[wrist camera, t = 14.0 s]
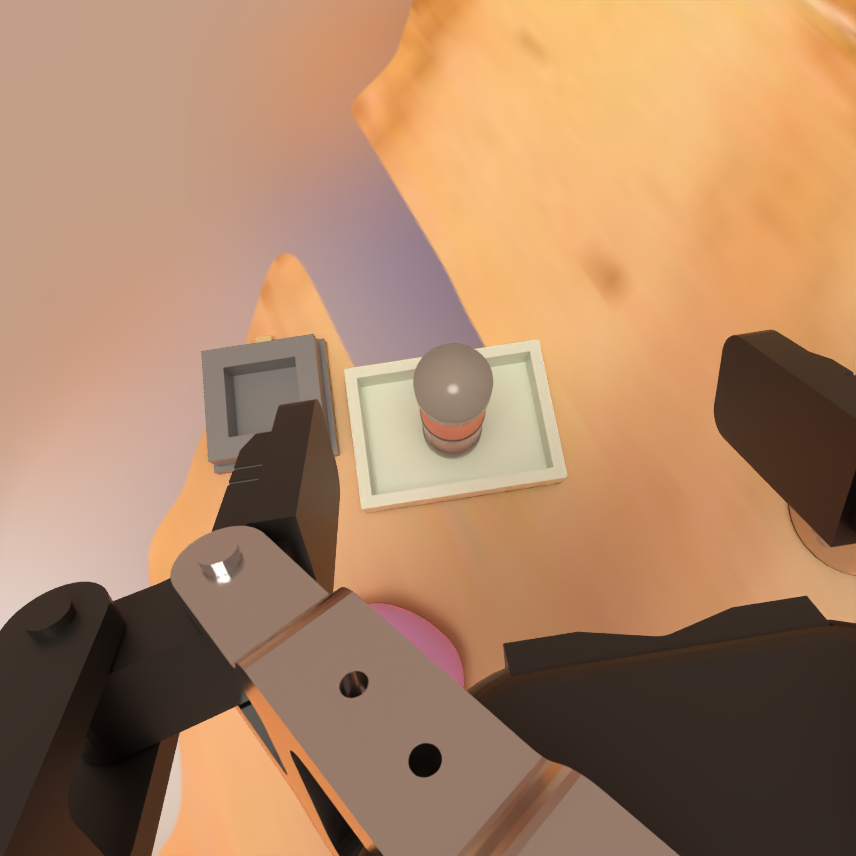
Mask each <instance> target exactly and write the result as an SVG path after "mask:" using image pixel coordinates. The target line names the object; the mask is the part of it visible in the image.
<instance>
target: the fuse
mask: <svg viewBox="0 0 856 856" xmlns="http://www.w3.org/2000/svg"><path fill="white" fill-rule="evenodd" d="M413 387H414V392H415V396H416V400H417V403H418V405H419V407H420V416H421V421H422V429H423V435H424V439H425V442H426V444H427V445H428V447H429V448H430V449H431V450H432V451H433V452H434V453H435V454H437V455H438V456H440V457H443V458H447V459H458V458H461V457H464V456H466V455H468V454H469V453H471V452H472V451H473V450H474V449H475V448H476V446H477V445H478V442H479V440H480V437H481V433H482V424H483V421H484V418H485V413H486V408H487V406H488V404H489V401H490V397H491V394H492V389H493V374H492V370H491V368H490V365H489V364H488V362H487V360H486V359H485V358H484V357H483V356H482V355H481V354H480V353H479V352H478V351H477V350H475V349H473V348H471V347H469V346H466V345H462V344H456V343H455V344H454V343H451V344H444V345H440V346H437V347H435V348H433V349H432V350H430V351H429V352H427V353H426V354H425V355H424V356H423V357H422V358H421V360H420V361H419V363H418V365H417V367H416V369H415V372H414V377H413Z"/></svg>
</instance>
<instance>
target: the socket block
mask: <svg viewBox="0 0 856 856" xmlns="http://www.w3.org/2000/svg"><path fill="white" fill-rule="evenodd" d="M255 339H256V343H252V344H245V345H239V346H232V347H226V348H219V349H213V350H207V351H202V352H201V353H202V368H203V384H204V398H205V399H204V400H205V415H206V430H207V446H208V461H209V462H211V463H213V464H214V473H216V474H224V473H230V472H233V471H234V466H235V463H236V460H237V457H238V454H239V452H240V450H241V449H242V448H243V447H244V445H245V444H246V443H247V442H248V441H249V440H250V439H251V438H252V437H253V436H254V435H255V434H256V433H263V432H269V431H272V427H273V424H274V420H275V416H276V413H277V409H278V406H279V405H281V404H288V403H294V402H301V401H307V400H314V399H318V401H319V403H320V405H321V408H322V411H323V415H324V419H325V423H326V427H327V430H328V434H329V438H330V442H331V446H332V450H333V454H334V456H339V447H338V439H337V430H336V422H335V414H334V405H333V397H332V388H331V380H330V372H329V363H328V355H327V346H326V341H325V340H324V339H316V338H315V336H314V334H310V335H304V336H297V337H291V338H284V339H278V340H272V336H271V335H268V336H262V337H255Z"/></svg>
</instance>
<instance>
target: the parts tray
mask: <svg viewBox="0 0 856 856" xmlns="http://www.w3.org/2000/svg"><path fill="white" fill-rule="evenodd" d="M475 350H477V351H478V352H479V353H480V354H481V355H482V356H483V357H484V358H485V359H486V360H487V362H488V364H489V365H490V368H491V370H492V374H493V389H492V394H491V397H490V401H489V404H488V406H487V408H486V413H485V418H484V421H483V424H482V433H481V437H480V440H479V442H478V445H477V446H476V448H475V449H474V450H473V451H472V452H471V453H469V454H468V455H466V456H464V457H461V458H458V459H447V458H443V457H440V456H438V455H437V454H435V453H434V452H433V451H432V450H431V449H430V448H429V447H428V445H427V444H426V442H425V439H424V435H423V429H422V421H421V416H420V407H419V405H418V403H417V400H416V396H415V392H414V387H413V377H414V372H415V369H416V367H417V365H418V363H419V361H420V360H421V358H422V357H419V358H413V359H406V360H400V361H394V362H387V363H381V364H374V365H368V366H361V367H355V368H348V369H344V374H345V382H346V390H347V398H348V406H349V414H350V422H351V430H352V438H353V446H354V454H355V462H356V470H357V478H358V486H359V494H360V502H361V509H362V510H363V511H365V512H366V513H371V512H378V511H384V510H391V509H397V508H403V507H410V506H416V505H423V504H429V503H435V502H442V501H448V500H455V499H461V498H468V497H474V496H480V495H487V494H493V493H500V492H506V491H512V490H519V489H525V488H532V487H538V486H544V485H551V484H557V483H560V482H562V481H563V480H564V479H566V478H567V477H568V476H567V471H566V466H565V461H564V457H563V452H562V447H561V442H560V438H559V433H558V428H557V423H556V419H555V414H554V409H553V404H552V400H551V395H550V390H549V385H548V381H547V376H546V371H545V366H544V362H543V357H542V352H541V347H540V343H539V339H536V340H529V341H523V342H516V343H510V344H504V345H497V346H491V347H484V348H478V349H475Z"/></svg>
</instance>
